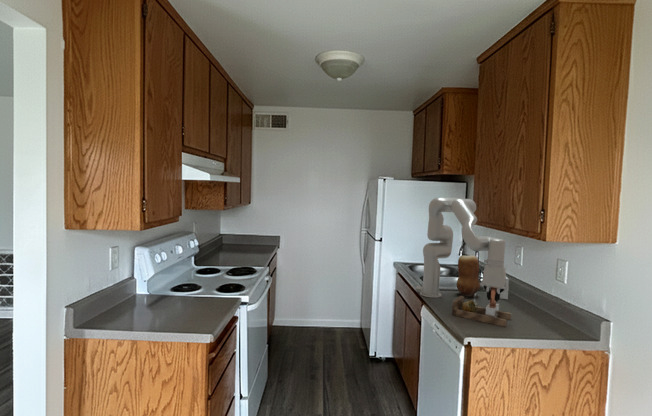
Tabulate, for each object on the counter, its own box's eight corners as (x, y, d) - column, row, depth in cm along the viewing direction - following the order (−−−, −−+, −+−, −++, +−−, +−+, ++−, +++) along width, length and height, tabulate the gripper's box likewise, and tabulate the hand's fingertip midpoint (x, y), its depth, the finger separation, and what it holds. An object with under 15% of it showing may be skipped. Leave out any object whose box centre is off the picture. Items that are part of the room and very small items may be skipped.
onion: (475, 312, 196) (476, 297, 196) (478, 317, 189) (479, 302, 188) (460, 311, 198) (460, 296, 198) (462, 316, 190) (463, 300, 190)
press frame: (452, 314, 191) (452, 301, 191) (459, 308, 203) (460, 295, 202) (505, 326, 177) (506, 312, 177) (510, 319, 188) (511, 305, 188)
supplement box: (505, 296, 232) (506, 276, 231) (507, 299, 225) (509, 278, 224) (492, 295, 234) (493, 274, 233) (494, 298, 227) (495, 277, 226)
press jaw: (485, 319, 184) (487, 288, 183) (489, 313, 192) (491, 284, 192) (494, 321, 182) (496, 290, 181) (498, 315, 190) (500, 286, 189)
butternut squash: (456, 292, 238) (458, 252, 236) (479, 295, 232) (482, 254, 231) (455, 297, 225) (457, 255, 224) (479, 300, 220) (481, 258, 218)
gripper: (476, 262, 187) (473, 298, 188) (512, 267, 178) (509, 305, 179) (479, 260, 194) (477, 295, 194) (515, 265, 184) (512, 302, 185)
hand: (493, 300), depth 187 cm, fingers closed on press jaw, 3 cm apart
